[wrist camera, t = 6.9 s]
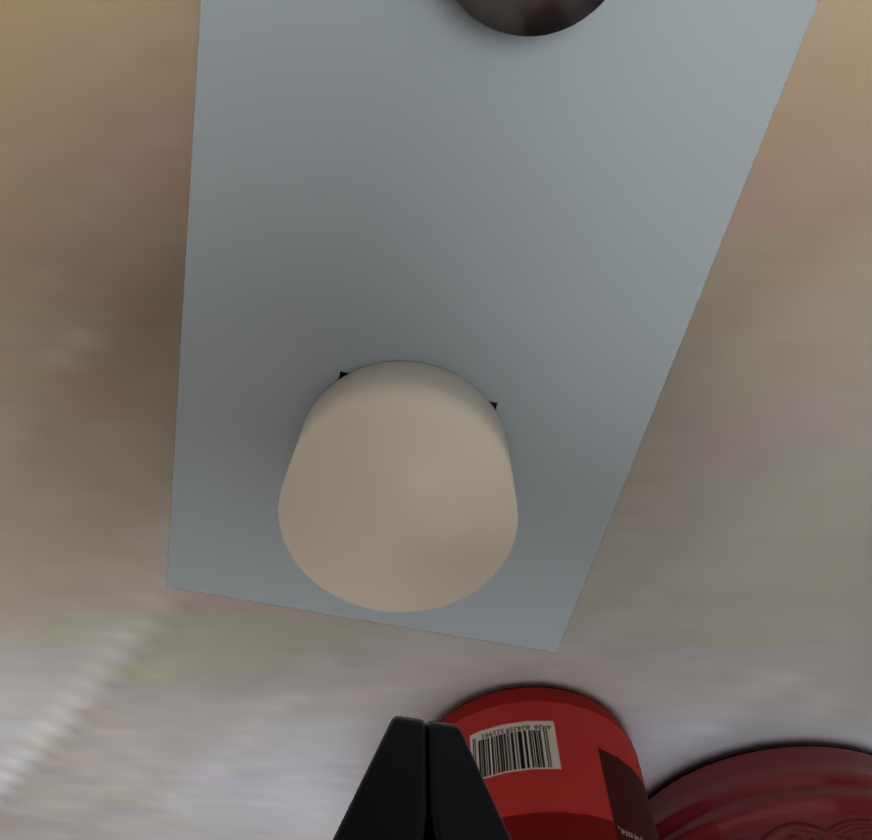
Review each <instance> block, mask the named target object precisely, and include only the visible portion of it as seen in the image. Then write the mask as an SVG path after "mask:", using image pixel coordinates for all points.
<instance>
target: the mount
mask: <svg viewBox="0 0 872 840" xmlns="http://www.w3.org/2000/svg"><path fill="white" fill-rule="evenodd" d="M817 3H818V0H605V1H604V2H603V3H602V4H601V5H600V6H599V7H598V8H597V9H596V10H595V11H593V12H592V13H591V14H589V15H588V16H587V17H586V18H584V19H583V20H581V21H579V22H578V23H576V24H574V25H573V26H571V27H568V28H566V29H564V30H561V31H559V32H555V33H552V34H548V35H542V36H534V37H529V36H516V35H510V34H505V33H500V32H497V31H494V30H491V29H489V28H487V27H485V26H483V25H481V24H479V23H478V22H476V21H475V20H473V19H472V18H470V17H469V16H468V15H467V14H466V13H465V12H464V11H463V10H461V9H460V7H459V6H458V5H457V4H456V3H455V1H454V0H201V8H200V25H199V42H198V59H197V76H196V93H195V110H194V127H193V144H192V161H191V178H190V195H189V211H188V228H187V245H186V262H185V279H184V296H183V313H182V330H181V347H180V364H179V381H178V398H177V415H176V432H175V448H174V465H173V482H172V499H171V516H170V533H169V550H168V567H167V584H166V587H170V588H176V589H182V590H188V591H194V592H199V593H205V594H211V595H217V596H223V597H229V598H235V599H241V600H247V601H253V602H259V603H264V604H270V605H276V606H282V607H288V608H294V609H300V610H306V611H312V612H318V613H324V614H329V615H335V616H341V617H347V618H353V619H359V620H365V621H371V622H377V623H383V624H389V625H394V626H400V627H406V628H412V629H418V630H424V631H430V632H436V633H442V634H448V635H454V636H459V637H465V638H471V639H477V640H483V641H489V642H495V643H501V644H507V645H513V646H519V647H524V648H530V649H536V650H542V651H548V652H554V653H557V651H558V648H559V646H560V643H561V641H562V638H563V636H564V633H565V631H566V628H567V626H568V623H569V621H570V618H571V616H572V613H573V611H574V608H575V606H576V603H577V601H578V598H579V596H580V593H581V591H582V588H583V586H584V583H585V581H586V578H587V576H588V573H589V571H590V568H591V566H592V563H593V561H594V558H595V556H596V553H597V551H598V548H599V546H600V543H601V541H602V538H603V536H604V533H605V531H606V528H607V526H608V523H609V521H610V518H611V516H612V513H613V511H614V508H615V506H616V503H617V501H618V499H619V496H620V494H621V491H622V489H623V486H624V484H625V481H626V479H627V476H628V474H629V471H630V469H631V466H632V464H633V461H634V459H635V456H636V454H637V451H638V449H639V446H640V444H641V441H642V439H643V436H644V434H645V431H646V429H647V426H648V424H649V421H650V419H651V416H652V414H653V411H654V409H655V406H656V404H657V401H658V399H659V396H660V394H661V391H662V389H663V386H664V384H665V381H666V379H667V376H668V374H669V371H670V369H671V366H672V364H673V361H674V359H675V356H676V354H677V351H678V349H679V346H680V344H681V342H682V339H683V337H684V334H685V332H686V329H687V327H688V324H689V322H690V319H691V317H692V314H693V312H694V309H695V307H696V304H697V302H698V299H699V297H700V294H701V292H702V289H703V287H704V284H705V282H706V279H707V277H708V274H709V272H710V269H711V267H712V264H713V262H714V259H715V257H716V254H717V252H718V249H719V247H720V244H721V242H722V239H723V237H724V234H725V232H726V229H727V227H728V224H729V222H730V219H731V217H732V214H733V212H734V209H735V207H736V204H737V202H738V199H739V197H740V194H741V192H742V189H743V187H744V184H745V182H746V180H747V177H748V175H749V172H750V170H751V167H752V165H753V162H754V160H755V157H756V155H757V152H758V150H759V147H760V145H761V142H762V140H763V137H764V135H765V132H766V130H767V127H768V125H769V122H770V120H771V117H772V115H773V112H774V110H775V107H776V105H777V102H778V100H779V97H780V95H781V92H782V90H783V87H784V85H785V82H786V80H787V77H788V75H789V72H790V70H791V67H792V65H793V62H794V60H795V57H796V55H797V52H798V50H799V47H800V45H801V42H802V40H803V37H804V35H805V32H806V30H807V27H808V25H809V23H810V20H811V18H812V15H813V13H814V10H815V8H816V5H817ZM395 361H406V362H417V363H425V364H429V365H433V366H436V367H440V368H442V369H445V370H447V371H450V372H452V373H454V374H456V375H458V376H460V377H461V378H463V379H465V380H466V381H468V382H469V383H470V384H472V385H473V386H475V387H476V388H477V389H478V390H479V391H480V392H481V393H482V394H483V395H484V396H485V397H486V398H487V399H488V400H489V402H490V403H491V404H492V405H493V407H494V408H495V410H496V412H497V413H498V415H499V417H500V419H501V421H502V424H503V426H504V429H505V432H506V437H507V441H508V447H509V454H510V461H511V467H512V474H513V481H514V487H515V494H516V501H517V510H518V524H517V532H516V536H515V540H514V544H513V546H512V548H511V551H510V553H509V555H508V557H507V558H506V560H505V562H504V563H503V565H502V566H501V568H500V569H499V570H498V571H497V572H496V574H495V575H494V576H493V577H492V578H491V579H490V580H489V581H488V582H486V583H485V584H484V585H483V586H482V587H480V588H479V589H477V590H476V591H475V592H473V593H471V594H470V595H468V596H466V597H464V598H462V599H460V600H458V601H456V602H453V603H451V604H448V605H445V606H441V607H438V608H435V609H429V610H424V611H415V612H388V611H380V610H374V609H370V608H365V607H361V606H358V605H355V604H352V603H349V602H347V601H345V600H343V599H340V598H338V597H336V596H334V595H333V594H331V593H329V592H328V591H326V590H324V589H323V588H322V587H320V586H319V585H318V584H316V583H315V582H314V581H312V580H311V579H310V578H309V577H308V576H307V575H306V574H305V573H304V572H303V571H302V570H301V568H300V567H299V566H298V565H297V563H296V562H295V561H294V559H293V558H292V556H291V554H290V553H289V551H288V549H287V547H286V544H285V542H284V540H283V537H282V533H281V529H280V526H279V516H278V507H279V497H280V493H281V488H282V485H283V482H284V479H285V476H286V473H287V471H288V468H289V465H290V462H291V459H292V456H293V453H294V450H295V448H296V445H297V442H298V439H299V436H300V433H301V430H302V427H303V425H304V422H305V420H306V417H307V415H308V413H309V411H310V409H311V408H312V406H313V404H314V403H315V402H316V400H317V399H318V398H319V397H320V395H321V394H322V393H323V392H324V391H325V390H326V389H328V388H329V387H330V386H331V385H332V384H333V383H335V382H336V381H338V380H339V379H341V378H342V377H344V376H346V375H348V374H349V373H351V372H353V371H355V370H358V369H361V368H364V367H367V366H370V365H374V364H379V363H385V362H395Z"/></svg>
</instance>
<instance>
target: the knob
mask: <svg viewBox="0 0 872 840" xmlns="http://www.w3.org/2000/svg"><path fill="white" fill-rule="evenodd" d="M278 516H279V526H280V529H281V533H282V537H283V540H284V542H285V544H286V547H287V549H288V551H289V553H290V554H291V556H292V558H293V559H294V561H295V562H296V563H297V565H298V566H299V567H300V568H301V570H302V571H303V572H304V573H305V574H306V575H307V576H308V577H309V578H310V579H311V580H312V581H314V582H315V583H316V584H318V585H319V586H320V587H322V588H323V589H324V590H326V591H328V592H329V593H331V594H333V595H334V596H336V597H338V598H340V599H343V600H345V601H347V602H349V603H352V604H355V605H358V606H361V607H365V608H370V609H374V610H380V611H388V612H415V611H424V610H429V609H435V608H438V607H441V606H445V605H448V604H451V603H453V602H456V601H458V600H460V599H462V598H464V597H466V596H468V595H470V594H471V593H473V592H475V591H476V590H477V589H479V588H480V587H482V586H483V585H484V584H485V583H486V582H488V581H489V580H490V579H491V578H492V577H493V576H494V575H495V574H496V572H497V571H498V570H499V569H500V568H501V566H502V565H503V563H504V562H505V560H506V558H507V557H508V555H509V553H510V551H511V548H512V546H513V544H514V540H515V536H516V532H517V524H518V510H517V501H516V494H515V487H514V481H513V474H512V467H511V461H510V454H509V447H508V441H507V437H506V432H505V429H504V426H503V424H502V421H501V419H500V417H499V415H498V413H497V412H496V410H495V408H494V407H493V405H492V404H491V403H490V402H489V400H488V399H487V398H486V397H485V396H484V395H483V394H482V393H481V392H480V391H479V390H478V389H477V388H476V387H475V386H473V385H472V384H470V383H469V382H468V381H466V380H465V379H463V378H461V377H460V376H458V375H456V374H454V373H452V372H450V371H447V370H445V369H442V368H440V367H436V366H433V365H429V364H425V363H417V362H406V361H395V362H385V363H379V364H374V365H370V366H367V367H364V368H361V369H358V370H355V371H353V372H351V373H349V374H348V375H346V376H344V377H342V378H341V379H339V380H338V381H336V382H335V383H333V384H332V385H331V386H330V387H329V388H328V389H326V390H325V391H324V392H323V393H322V394H321V395H320V397H319V398H318V399H317V400H316V402H315V403H314V404H313V406H312V408H311V409H310V411H309V413H308V415H307V417H306V420H305V422H304V425H303V427H302V430H301V433H300V436H299V439H298V442H297V445H296V448H295V450H294V453H293V456H292V459H291V462H290V465H289V468H288V471H287V473H286V476H285V479H284V482H283V485H282V488H281V493H280V497H279V507H278Z"/></svg>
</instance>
